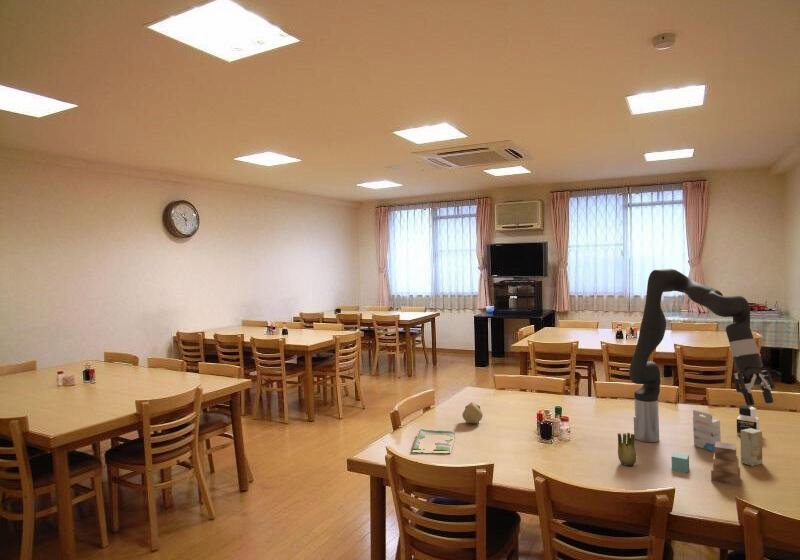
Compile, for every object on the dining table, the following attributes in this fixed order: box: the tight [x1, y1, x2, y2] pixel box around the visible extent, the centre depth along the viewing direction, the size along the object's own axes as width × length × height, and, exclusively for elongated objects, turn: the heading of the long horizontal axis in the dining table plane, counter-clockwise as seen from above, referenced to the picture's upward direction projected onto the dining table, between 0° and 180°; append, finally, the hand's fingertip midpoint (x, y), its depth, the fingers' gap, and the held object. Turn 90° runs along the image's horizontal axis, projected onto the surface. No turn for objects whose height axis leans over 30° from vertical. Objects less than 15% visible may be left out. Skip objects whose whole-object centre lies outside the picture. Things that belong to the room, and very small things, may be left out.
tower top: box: [714, 441, 737, 462], centre depth 173 cm, size 6×6×4 cm
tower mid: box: [712, 452, 740, 474], centre depth 173 cm, size 7×7×4 cm
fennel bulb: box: [617, 432, 637, 467], centre depth 189 cm, size 6×5×12 cm
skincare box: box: [740, 428, 763, 467], centre depth 186 cm, size 6×4×12 cm
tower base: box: [710, 464, 741, 487], centre depth 173 cm, size 8×8×4 cm
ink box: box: [692, 409, 722, 452], centre depth 203 cm, size 9×5×15 cm, turn 23°
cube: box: [671, 452, 690, 474], centre depth 183 cm, size 5×5×5 cm
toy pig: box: [462, 402, 484, 424], centre depth 246 cm, size 10×12×11 cm
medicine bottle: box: [736, 405, 760, 436], centre depth 216 cm, size 7×7×12 cm
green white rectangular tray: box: [412, 428, 456, 452], centre depth 219 cm, size 17×23×4 cm
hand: (760, 404), depth 162 cm, fingers open, 8 cm apart
